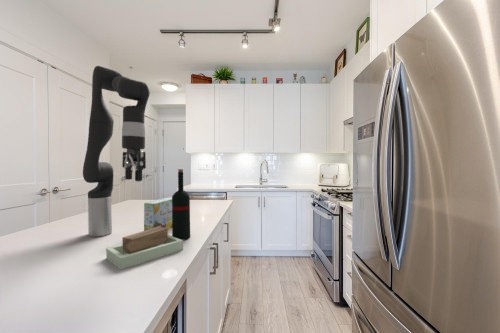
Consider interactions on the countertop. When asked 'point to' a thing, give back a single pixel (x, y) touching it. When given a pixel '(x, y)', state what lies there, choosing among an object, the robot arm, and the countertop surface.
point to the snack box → (158, 214)
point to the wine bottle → (181, 211)
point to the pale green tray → (142, 253)
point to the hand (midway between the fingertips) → (133, 180)
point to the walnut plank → (144, 240)
